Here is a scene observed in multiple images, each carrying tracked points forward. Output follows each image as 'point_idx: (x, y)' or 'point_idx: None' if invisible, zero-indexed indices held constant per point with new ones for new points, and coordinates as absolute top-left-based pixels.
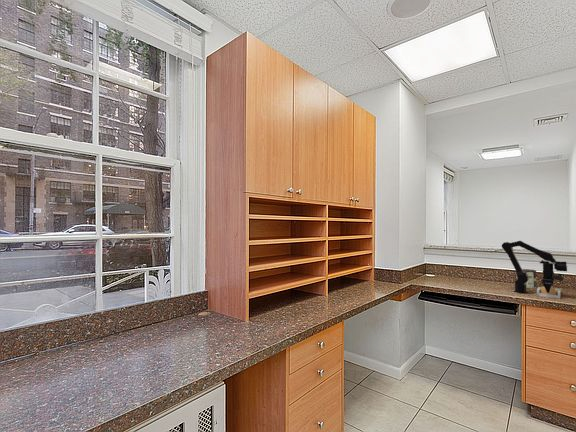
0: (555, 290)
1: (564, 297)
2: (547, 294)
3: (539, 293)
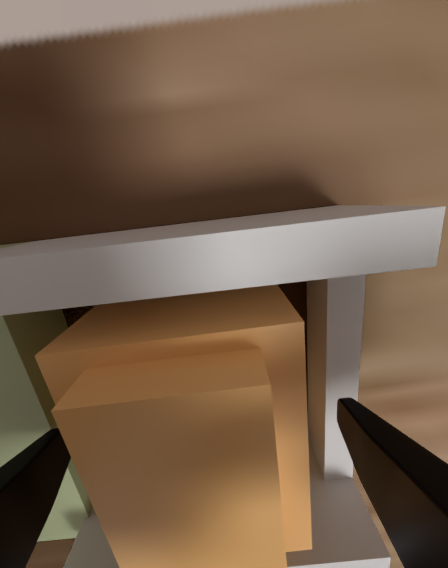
0: (223, 343)
1: (131, 162)
2: (356, 388)
3: (351, 472)
